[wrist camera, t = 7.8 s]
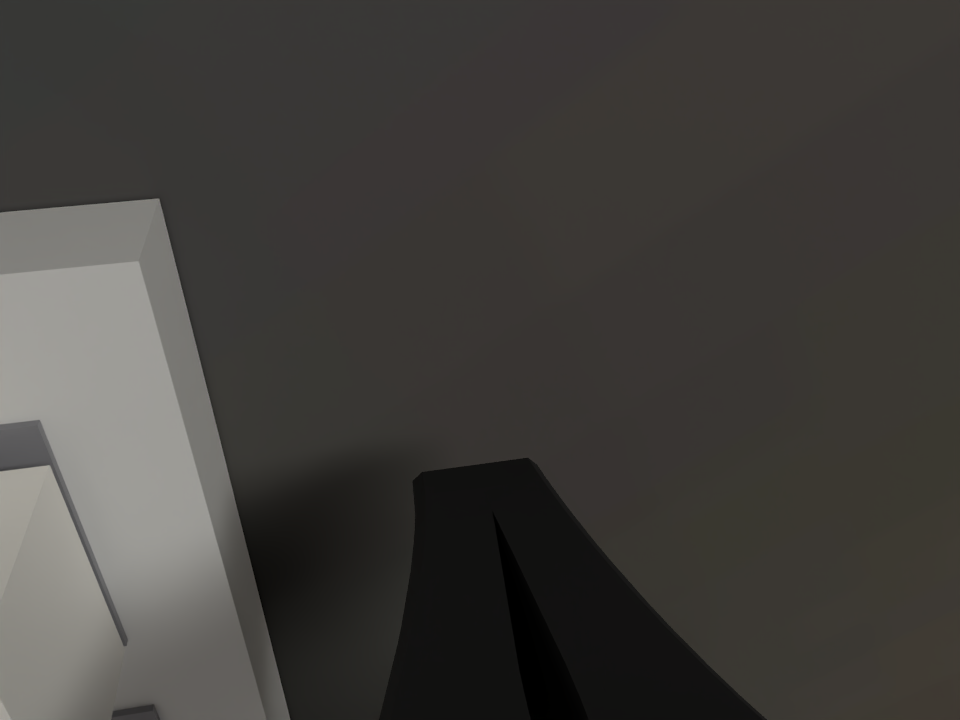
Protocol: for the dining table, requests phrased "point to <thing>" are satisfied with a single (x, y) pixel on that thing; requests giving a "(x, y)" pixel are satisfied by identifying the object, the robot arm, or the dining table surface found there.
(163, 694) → the panel
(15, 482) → the switch tab
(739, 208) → the dining table surface
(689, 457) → the dining table surface
